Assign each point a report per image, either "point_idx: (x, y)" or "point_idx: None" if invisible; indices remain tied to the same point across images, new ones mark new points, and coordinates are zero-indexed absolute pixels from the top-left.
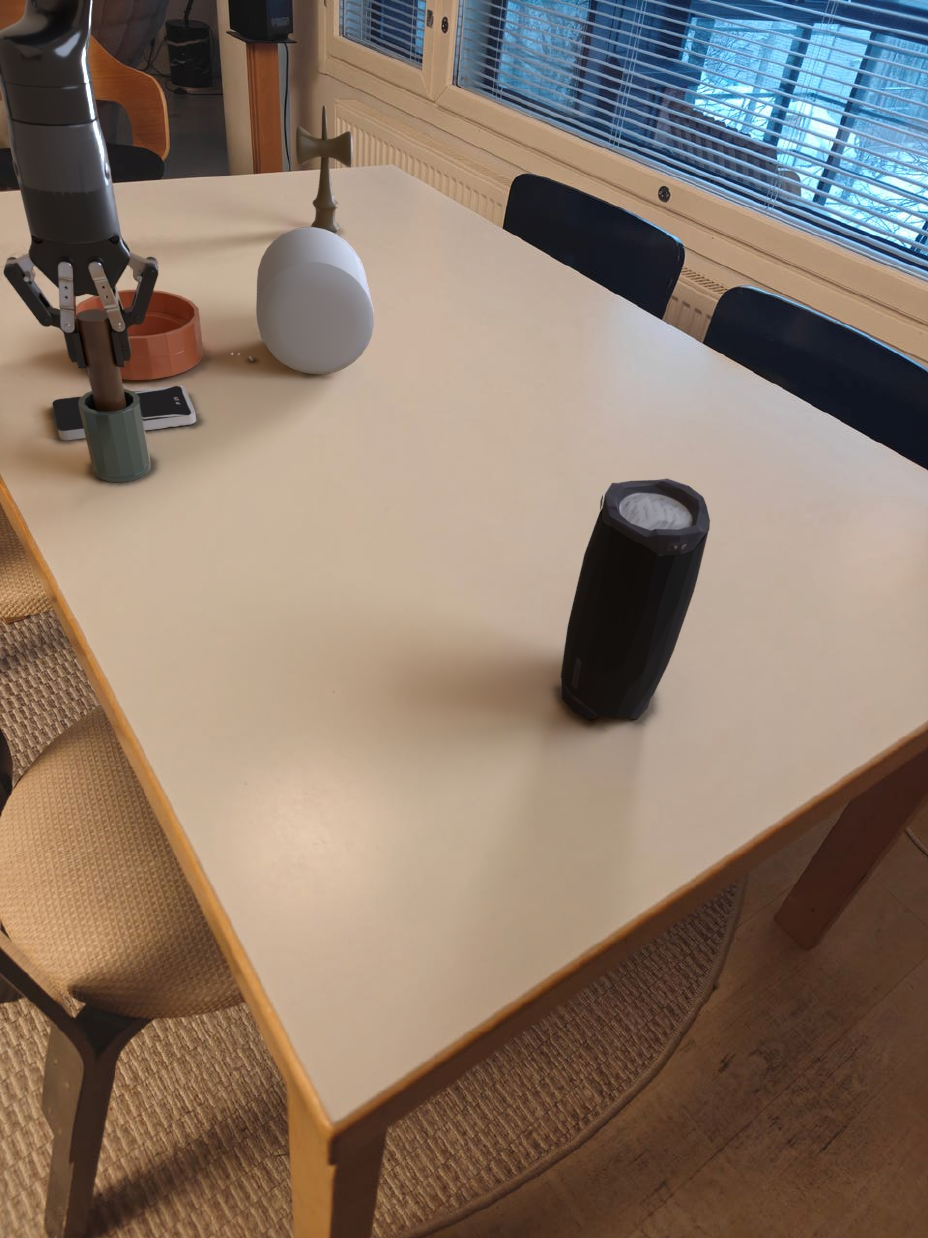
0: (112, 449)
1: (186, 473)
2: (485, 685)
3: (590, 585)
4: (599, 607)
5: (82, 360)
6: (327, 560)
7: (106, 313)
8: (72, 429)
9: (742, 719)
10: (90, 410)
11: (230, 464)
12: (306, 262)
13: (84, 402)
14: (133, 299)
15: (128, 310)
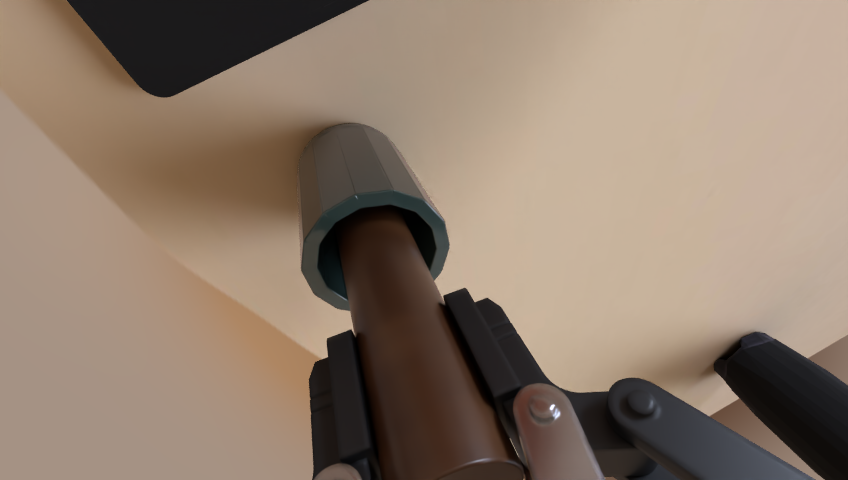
0: None
1: (465, 166)
2: (678, 367)
3: (820, 469)
4: (807, 463)
5: None
6: (619, 291)
7: (511, 472)
8: (186, 87)
9: (792, 345)
10: None
11: (535, 123)
12: None
13: (323, 281)
14: (669, 470)
15: (612, 463)
